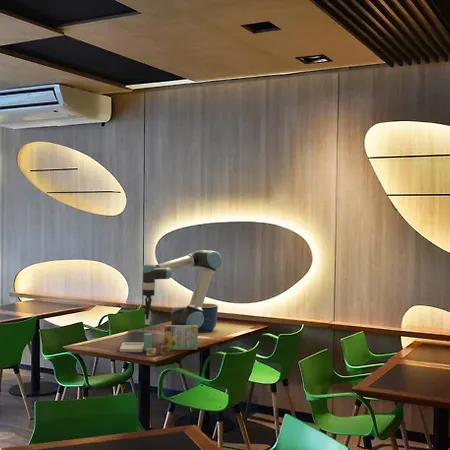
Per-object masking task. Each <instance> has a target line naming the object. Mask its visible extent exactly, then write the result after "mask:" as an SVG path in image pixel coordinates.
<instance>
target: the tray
mask: <svg viewBox="0 0 450 450" xmlns="http://www.w3.org/2000/svg"><path fill="white" fill-rule="evenodd" d="M143 352H144V341H143V342H141V341H140V342H131V341H130V342H127V341H126V342H122V343H121V346H120V347H119V353H143Z"/></svg>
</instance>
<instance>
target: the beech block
mask: <svg viewBox="0 0 450 450" xmlns="http://www.w3.org/2000/svg"><path fill="white" fill-rule="evenodd" d="M156 355H157V348H155V347H152V348H148V349H147V351H146V356H147V357H155V356H156Z"/></svg>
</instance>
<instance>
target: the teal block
mask: <svg viewBox="0 0 450 450" xmlns="http://www.w3.org/2000/svg"><path fill="white" fill-rule="evenodd" d="M143 342H144V348H143V352H144V351H145V352H147V349H148V348H153V333H150V332H149V333H147V332H146V333H143Z"/></svg>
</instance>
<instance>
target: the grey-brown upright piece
mask: <svg viewBox="0 0 450 450" xmlns="http://www.w3.org/2000/svg"><path fill="white" fill-rule="evenodd" d="M164 338H165V332H163V333H161V338H160V339H161V343H160V344H161V345H164Z"/></svg>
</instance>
